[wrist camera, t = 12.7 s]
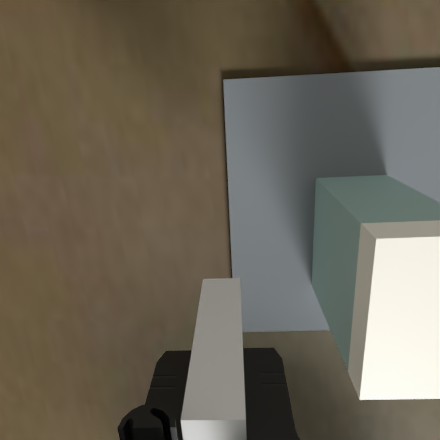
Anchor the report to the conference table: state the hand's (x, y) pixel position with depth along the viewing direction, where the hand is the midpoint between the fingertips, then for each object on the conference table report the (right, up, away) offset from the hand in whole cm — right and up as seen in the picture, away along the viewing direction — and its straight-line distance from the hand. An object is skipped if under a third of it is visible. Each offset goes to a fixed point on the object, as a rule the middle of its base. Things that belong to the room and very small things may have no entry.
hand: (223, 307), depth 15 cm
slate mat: (+10, +4, +7) cm, 13 cm away
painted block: (+8, +3, +7) cm, 11 cm away
